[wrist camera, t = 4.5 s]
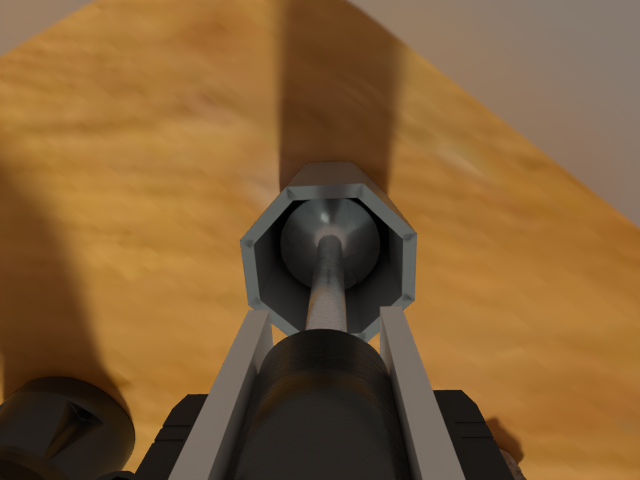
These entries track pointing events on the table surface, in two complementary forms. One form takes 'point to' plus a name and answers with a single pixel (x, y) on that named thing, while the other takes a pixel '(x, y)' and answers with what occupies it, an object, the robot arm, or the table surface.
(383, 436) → the plunger
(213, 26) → the table surface
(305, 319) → the press carafe
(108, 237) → the table surface
